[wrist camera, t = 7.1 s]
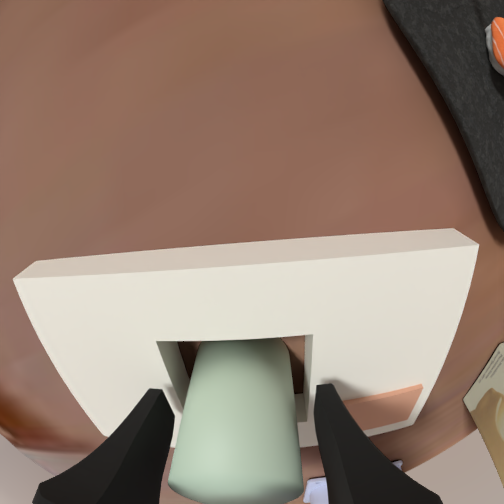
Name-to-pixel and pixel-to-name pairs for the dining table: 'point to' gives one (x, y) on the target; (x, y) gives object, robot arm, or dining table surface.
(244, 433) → the peg
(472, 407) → the skincare box
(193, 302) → the hole board
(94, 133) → the dining table surface
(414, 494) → the robot arm
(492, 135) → the sushi plate
